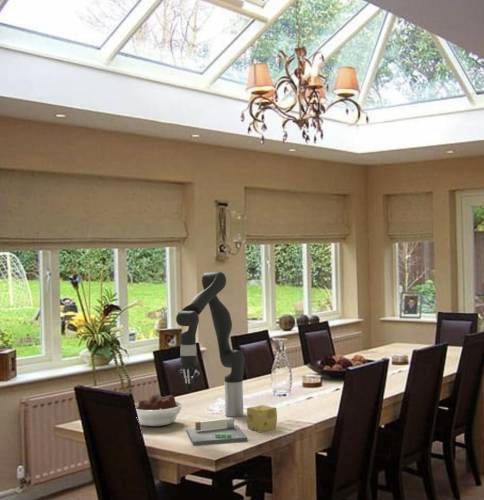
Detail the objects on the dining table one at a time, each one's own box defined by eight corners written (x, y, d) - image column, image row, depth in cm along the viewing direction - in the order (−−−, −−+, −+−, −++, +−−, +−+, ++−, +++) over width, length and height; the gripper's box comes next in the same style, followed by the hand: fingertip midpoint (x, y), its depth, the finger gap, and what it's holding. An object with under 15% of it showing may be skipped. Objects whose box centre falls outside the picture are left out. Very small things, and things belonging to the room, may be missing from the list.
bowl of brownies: (125, 422, 357) (124, 392, 357) (173, 416, 367) (172, 387, 367) (139, 433, 334) (138, 400, 334) (189, 426, 345) (189, 395, 345)
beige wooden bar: (232, 425, 336) (232, 417, 336) (235, 427, 333) (235, 418, 333) (194, 430, 329) (194, 421, 329) (197, 432, 326) (196, 423, 326)
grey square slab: (186, 432, 334) (186, 425, 334) (237, 428, 338) (237, 421, 338) (193, 445, 310) (193, 438, 310) (247, 440, 315) (247, 433, 315)
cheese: (260, 432, 329) (259, 410, 329) (246, 428, 338) (245, 407, 338) (277, 428, 335) (277, 407, 335) (263, 424, 344) (262, 404, 344)
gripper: (172, 354, 335) (173, 391, 334) (193, 356, 326) (194, 394, 326) (183, 352, 340) (184, 388, 340) (204, 354, 332) (205, 391, 332)
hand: (189, 391), depth 333 cm, fingers closed
